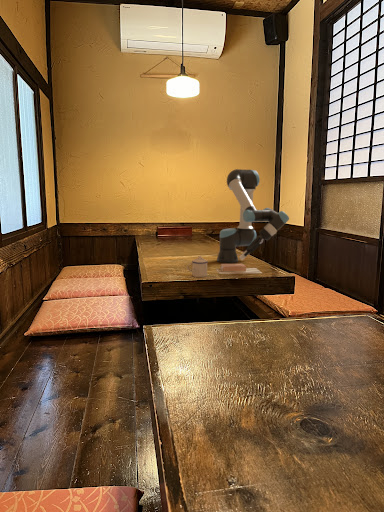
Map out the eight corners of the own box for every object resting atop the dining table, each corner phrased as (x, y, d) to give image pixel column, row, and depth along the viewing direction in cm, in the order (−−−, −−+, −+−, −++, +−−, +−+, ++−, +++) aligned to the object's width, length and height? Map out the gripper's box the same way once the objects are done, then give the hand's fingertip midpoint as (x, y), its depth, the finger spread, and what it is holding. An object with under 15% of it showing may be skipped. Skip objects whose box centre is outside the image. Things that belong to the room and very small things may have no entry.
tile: (242, 268, 231) (220, 268, 230) (242, 263, 231) (220, 263, 230) (246, 271, 222) (223, 271, 220) (246, 266, 221) (223, 266, 220)
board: (214, 268, 235) (214, 267, 235) (254, 268, 237) (254, 266, 237) (219, 275, 215) (219, 273, 215) (262, 274, 217) (262, 272, 217)
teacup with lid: (208, 274, 218) (208, 255, 216) (206, 277, 209) (207, 257, 207) (188, 273, 220) (188, 254, 218) (186, 277, 211) (186, 257, 209)
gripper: (274, 237, 218) (246, 265, 219) (268, 235, 231) (242, 261, 232) (266, 228, 217) (238, 256, 218) (260, 227, 230) (234, 253, 231)
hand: (240, 259), depth 225 cm, fingers closed
